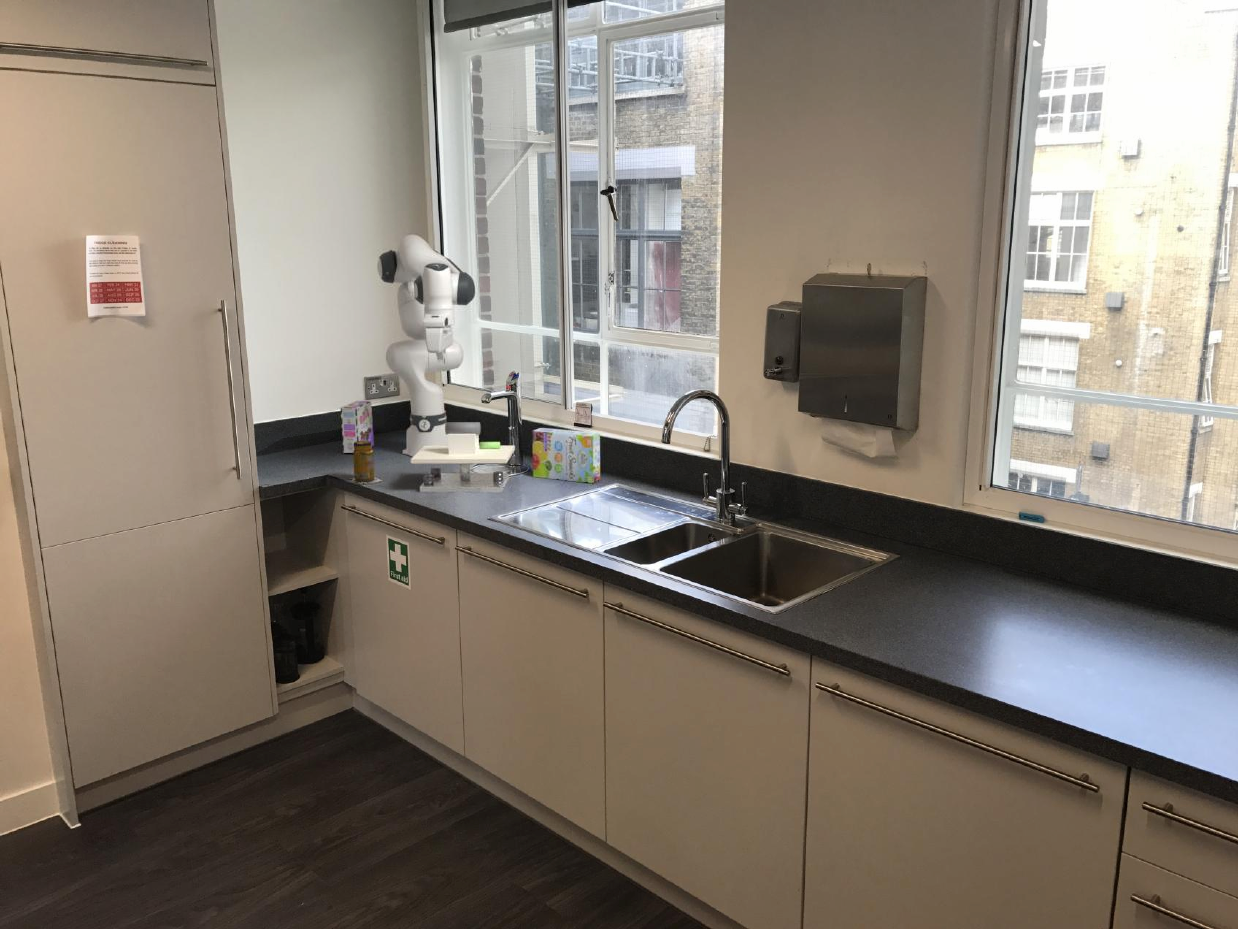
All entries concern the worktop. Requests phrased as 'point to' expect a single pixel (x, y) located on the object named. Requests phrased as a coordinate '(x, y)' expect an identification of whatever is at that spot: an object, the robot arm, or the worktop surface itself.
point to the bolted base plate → (463, 481)
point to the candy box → (356, 424)
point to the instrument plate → (479, 458)
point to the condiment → (363, 463)
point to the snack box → (566, 455)
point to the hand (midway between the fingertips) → (441, 364)
